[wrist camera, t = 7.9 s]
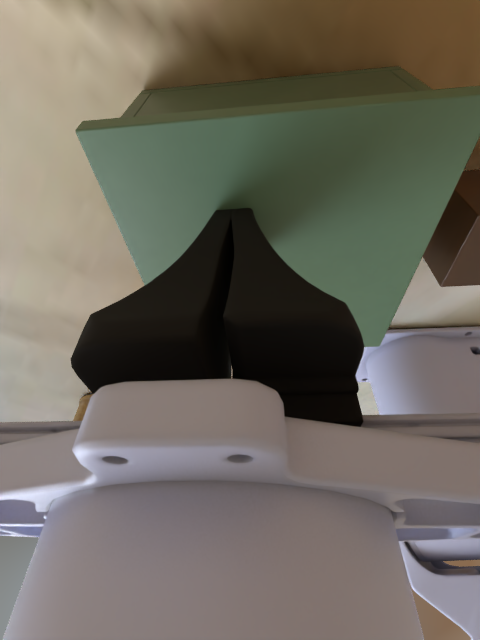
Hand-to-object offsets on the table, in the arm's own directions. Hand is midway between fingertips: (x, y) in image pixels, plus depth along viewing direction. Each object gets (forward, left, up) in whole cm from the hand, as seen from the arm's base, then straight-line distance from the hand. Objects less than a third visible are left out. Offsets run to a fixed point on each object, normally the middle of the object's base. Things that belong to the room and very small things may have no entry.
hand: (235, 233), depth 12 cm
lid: (-2, +2, -1) cm, 3 cm away
